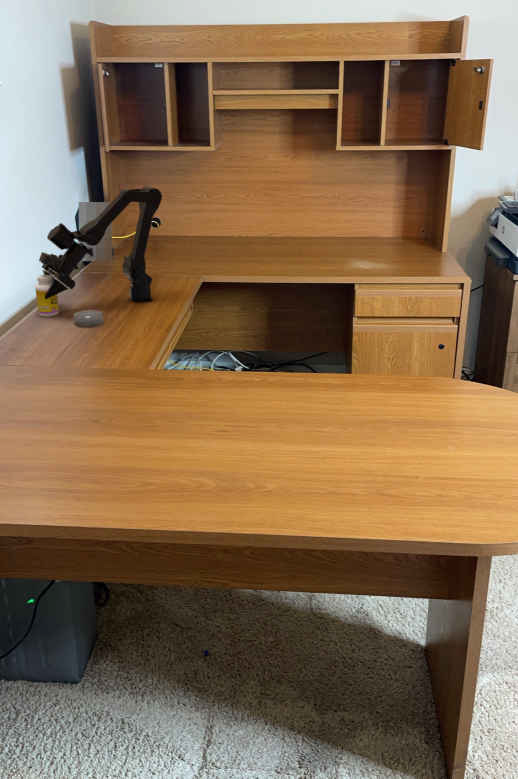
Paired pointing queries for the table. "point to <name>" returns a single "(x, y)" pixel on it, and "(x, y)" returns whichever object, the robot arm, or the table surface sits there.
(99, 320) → the puck
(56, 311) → the supplement bottle
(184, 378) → the table surface
